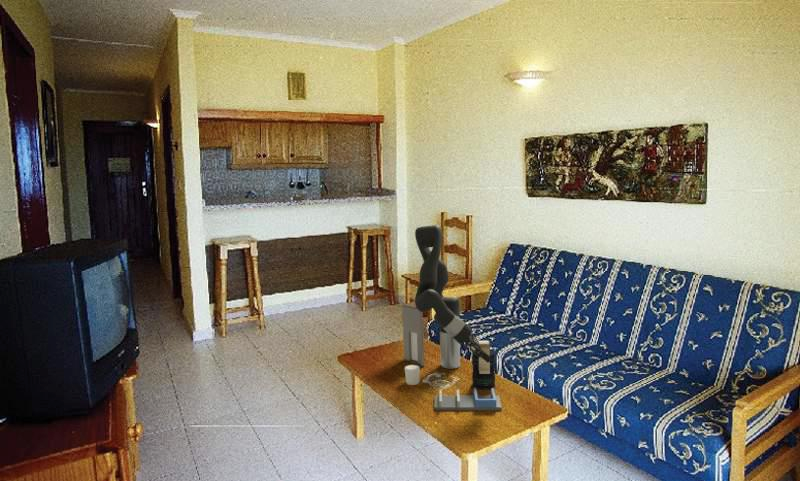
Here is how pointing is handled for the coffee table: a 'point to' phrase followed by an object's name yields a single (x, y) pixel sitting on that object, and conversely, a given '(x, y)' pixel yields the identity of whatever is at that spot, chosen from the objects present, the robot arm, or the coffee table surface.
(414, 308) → the cabinet
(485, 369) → the peg
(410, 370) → the beige cylinder
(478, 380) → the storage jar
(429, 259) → the robot arm
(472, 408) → the grey slotted base
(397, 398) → the coffee table surface
